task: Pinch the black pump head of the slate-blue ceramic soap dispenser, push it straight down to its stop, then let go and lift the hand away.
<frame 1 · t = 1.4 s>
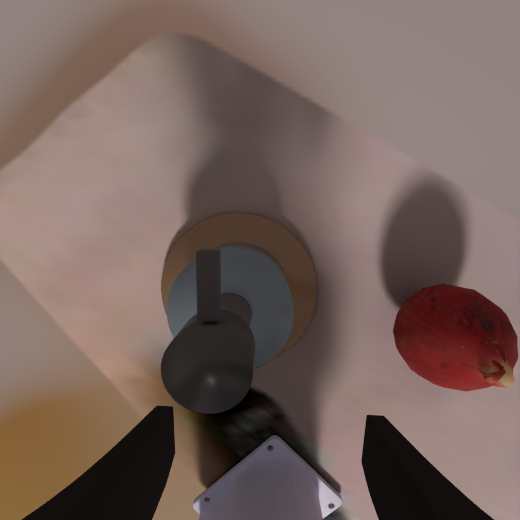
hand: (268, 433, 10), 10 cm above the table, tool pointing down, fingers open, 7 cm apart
pump head: (214, 324, 11), point 9 cm above the table, slide at 2.0 cm
dispenser: (239, 289, 20), on the table
red round fruit: (415, 312, 20), on the table
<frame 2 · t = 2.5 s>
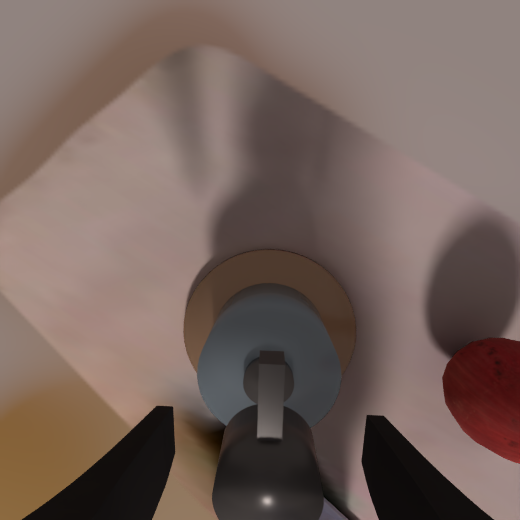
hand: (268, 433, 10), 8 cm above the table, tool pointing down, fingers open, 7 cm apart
pump head: (268, 426, 9), point 9 cm above the table, slide at 2.0 cm
dispenser: (268, 331, 19), on the table
red round fruit: (460, 356, 19), on the table
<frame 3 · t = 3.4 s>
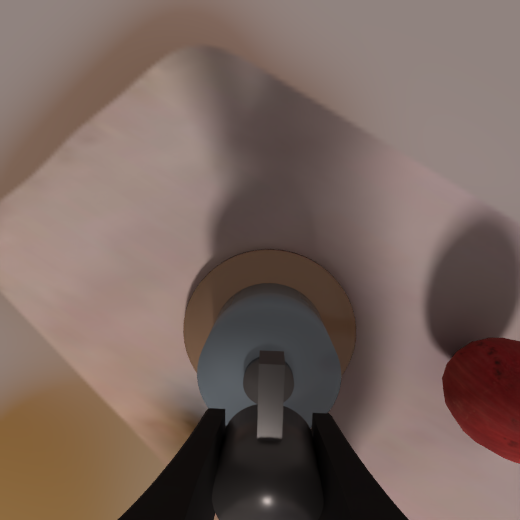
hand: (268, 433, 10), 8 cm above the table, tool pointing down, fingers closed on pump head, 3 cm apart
pump head: (268, 426, 9), point 9 cm above the table, slide at 2.0 cm, touching gripper
dispenser: (268, 331, 19), on the table
red round fruit: (460, 356, 19), on the table
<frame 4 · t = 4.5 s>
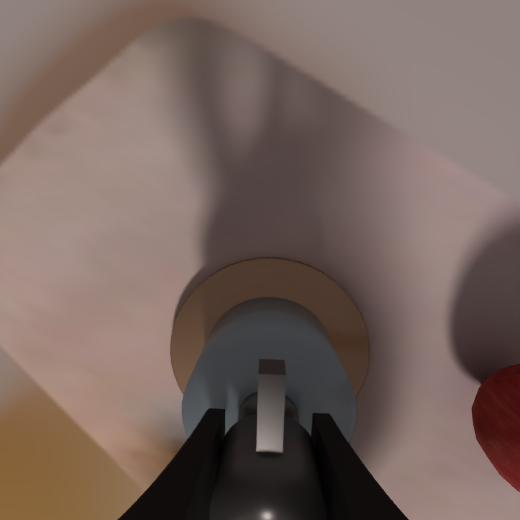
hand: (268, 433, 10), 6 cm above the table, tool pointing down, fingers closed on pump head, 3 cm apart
pump head: (268, 437, 9), point 7 cm above the table, slide at -0.1 cm, touching gripper
dispenser: (268, 351, 16), on the table
red round fruit: (488, 380, 16), on the table
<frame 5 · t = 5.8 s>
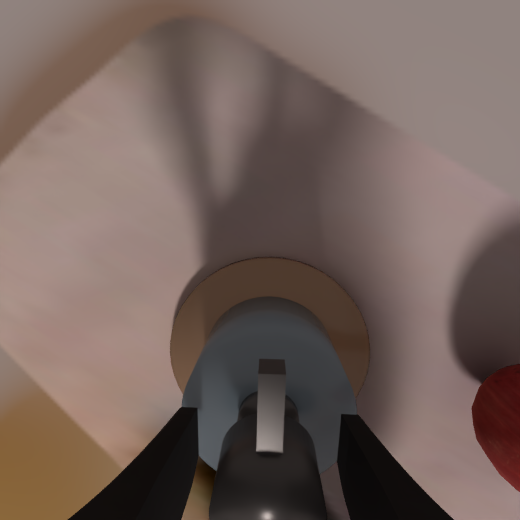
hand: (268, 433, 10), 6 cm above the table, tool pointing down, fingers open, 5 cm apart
pump head: (268, 436, 9), point 7 cm above the table, slide at -0.1 cm
dispenser: (268, 351, 16), on the table
red round fruit: (488, 379, 16), on the table
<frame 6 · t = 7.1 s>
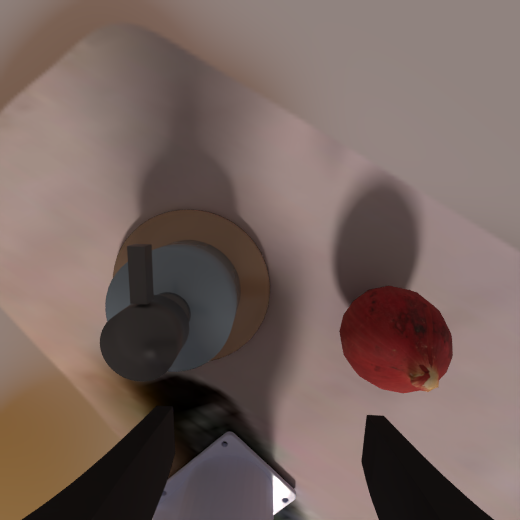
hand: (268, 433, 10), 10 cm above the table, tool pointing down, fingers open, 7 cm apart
pump head: (151, 308, 13), point 7 cm above the table, slide at -0.1 cm
dispenser: (193, 287, 20), on the table
red round fruit: (368, 312, 21), on the table
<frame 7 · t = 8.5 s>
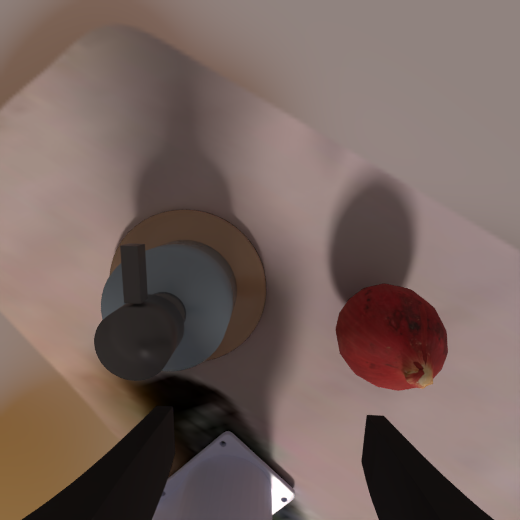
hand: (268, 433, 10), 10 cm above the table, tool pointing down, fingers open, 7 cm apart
pump head: (146, 307, 13), point 7 cm above the table, slide at -0.1 cm
dispenser: (189, 287, 20), on the table
red round fruit: (365, 310, 21), on the table
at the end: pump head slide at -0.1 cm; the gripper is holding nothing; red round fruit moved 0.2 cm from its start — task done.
